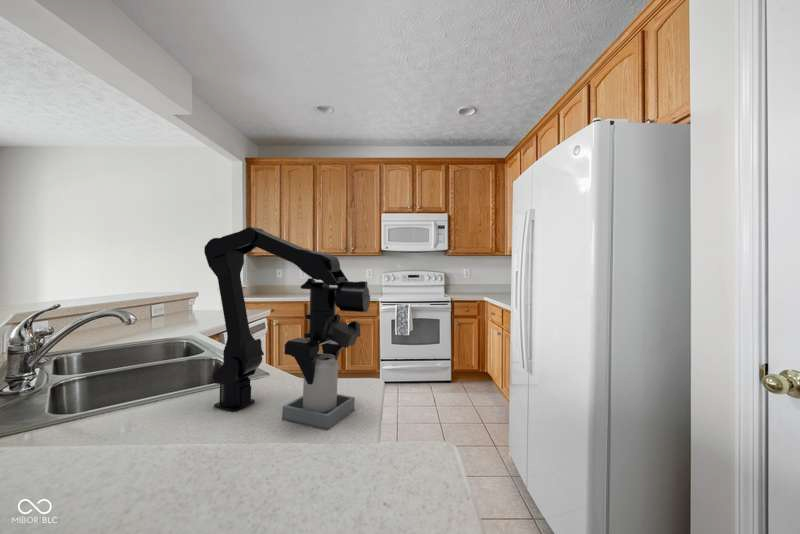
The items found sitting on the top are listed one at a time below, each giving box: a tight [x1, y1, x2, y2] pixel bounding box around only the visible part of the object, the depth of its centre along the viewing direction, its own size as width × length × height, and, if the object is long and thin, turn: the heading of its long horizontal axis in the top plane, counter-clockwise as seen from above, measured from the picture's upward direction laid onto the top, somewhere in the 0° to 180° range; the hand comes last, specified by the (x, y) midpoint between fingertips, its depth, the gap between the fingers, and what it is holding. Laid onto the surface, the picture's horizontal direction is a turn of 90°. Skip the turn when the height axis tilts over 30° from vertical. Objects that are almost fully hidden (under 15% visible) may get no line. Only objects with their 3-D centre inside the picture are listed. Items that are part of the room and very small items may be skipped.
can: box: [302, 352, 339, 414], centre depth 83 cm, size 8×8×12 cm
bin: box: [281, 393, 356, 431], centre depth 83 cm, size 11×11×3 cm
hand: (320, 379), depth 83 cm, fingers closed on can, 7 cm apart
